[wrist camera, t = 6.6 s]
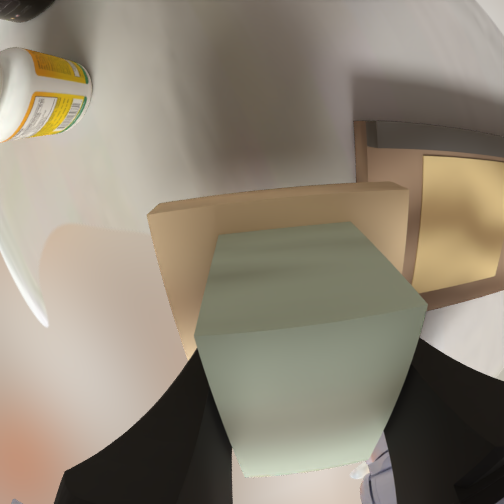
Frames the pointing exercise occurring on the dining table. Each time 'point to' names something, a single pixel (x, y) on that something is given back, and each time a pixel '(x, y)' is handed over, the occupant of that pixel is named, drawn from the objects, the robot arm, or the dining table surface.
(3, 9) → the supplement bottle
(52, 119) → the supplement bottle
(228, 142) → the dining table surface
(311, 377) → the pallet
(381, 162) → the dock
